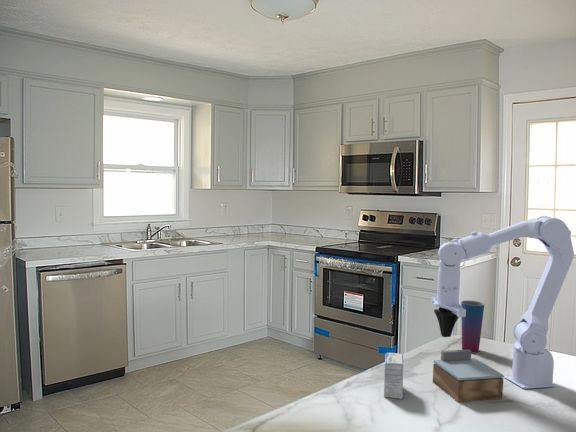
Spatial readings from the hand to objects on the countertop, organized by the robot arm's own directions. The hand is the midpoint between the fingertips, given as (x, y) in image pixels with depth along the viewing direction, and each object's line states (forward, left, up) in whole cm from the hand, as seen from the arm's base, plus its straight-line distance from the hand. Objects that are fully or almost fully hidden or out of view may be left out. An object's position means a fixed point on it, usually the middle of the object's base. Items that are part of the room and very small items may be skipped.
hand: (445, 336), depth 136 cm
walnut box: (0, +11, -10) cm, 15 cm away
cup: (-19, -17, -11) cm, 27 cm away
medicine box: (+19, +9, -11) cm, 24 cm away
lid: (0, +11, -5) cm, 12 cm away
